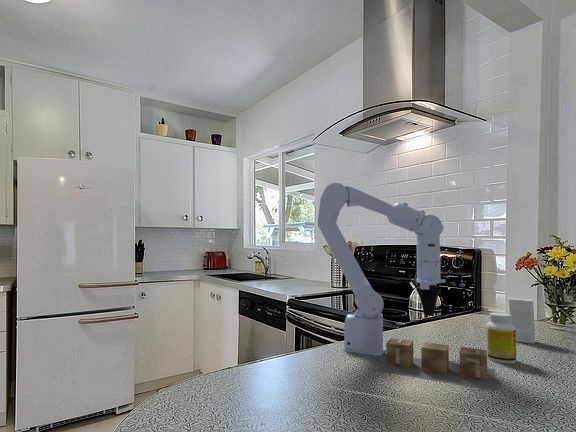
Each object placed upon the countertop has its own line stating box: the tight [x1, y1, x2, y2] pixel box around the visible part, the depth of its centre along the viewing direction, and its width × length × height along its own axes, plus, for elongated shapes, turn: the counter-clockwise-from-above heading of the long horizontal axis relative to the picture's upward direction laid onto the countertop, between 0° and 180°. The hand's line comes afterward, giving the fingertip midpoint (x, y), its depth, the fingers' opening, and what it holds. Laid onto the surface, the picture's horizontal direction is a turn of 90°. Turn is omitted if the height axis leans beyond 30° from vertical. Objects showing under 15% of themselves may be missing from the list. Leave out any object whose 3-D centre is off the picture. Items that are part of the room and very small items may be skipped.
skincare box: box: [508, 297, 536, 345], centre depth 111 cm, size 6×4×12 cm
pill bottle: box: [485, 312, 517, 365], centre depth 91 cm, size 6×6×11 cm
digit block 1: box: [385, 337, 414, 369], centre depth 86 cm, size 5×5×5 cm
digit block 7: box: [458, 346, 488, 382], centre depth 80 cm, size 5×5×5 cm
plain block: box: [420, 341, 450, 375], centre depth 83 cm, size 5×5×5 cm
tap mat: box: [373, 356, 497, 392], centre depth 83 cm, size 23×14×1 cm, turn 62°
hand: (429, 315), depth 97 cm, fingers closed
